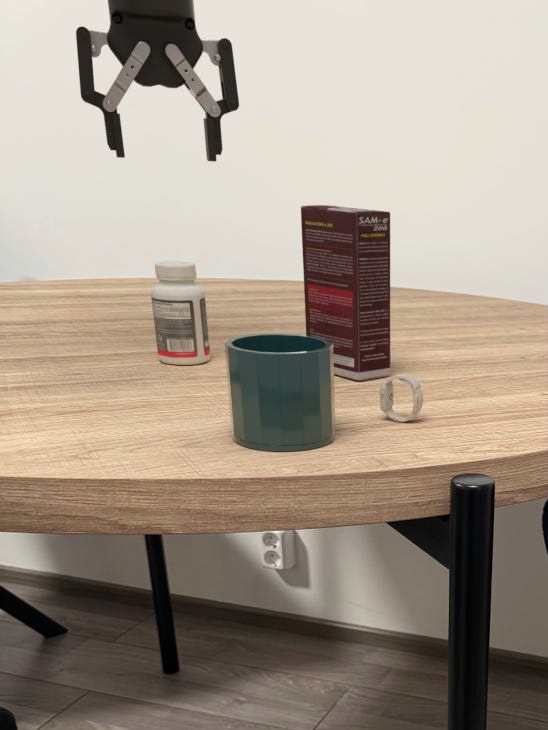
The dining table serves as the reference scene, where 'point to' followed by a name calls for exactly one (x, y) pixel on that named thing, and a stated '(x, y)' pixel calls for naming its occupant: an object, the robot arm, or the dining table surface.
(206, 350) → the pill bottle
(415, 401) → the grey marbled ring
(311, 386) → the cup
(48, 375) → the dining table surface
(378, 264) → the supplement box
